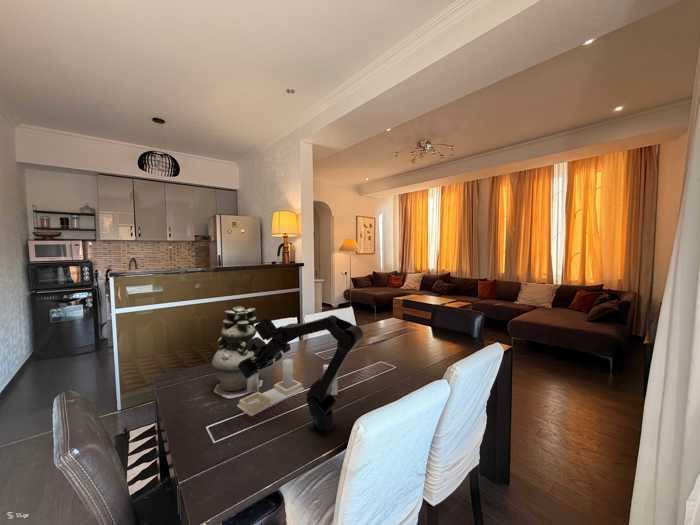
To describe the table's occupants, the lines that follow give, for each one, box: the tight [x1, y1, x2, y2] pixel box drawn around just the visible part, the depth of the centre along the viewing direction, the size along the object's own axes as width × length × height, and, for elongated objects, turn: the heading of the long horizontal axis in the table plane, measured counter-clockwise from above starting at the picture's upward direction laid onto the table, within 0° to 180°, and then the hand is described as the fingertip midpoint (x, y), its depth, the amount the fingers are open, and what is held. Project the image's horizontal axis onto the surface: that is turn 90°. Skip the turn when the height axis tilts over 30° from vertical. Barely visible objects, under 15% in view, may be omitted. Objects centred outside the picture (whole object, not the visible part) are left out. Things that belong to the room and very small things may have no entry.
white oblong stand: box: [236, 358, 305, 417], centre depth 116 cm, size 10×25×13 cm, turn 140°
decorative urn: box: [211, 306, 264, 399], centre depth 125 cm, size 21×21×35 cm
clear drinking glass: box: [247, 356, 260, 394], centre depth 109 cm, size 4×4×12 cm
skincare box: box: [322, 363, 339, 396], centre depth 120 cm, size 6×4×12 cm
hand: (250, 372), depth 109 cm, fingers closed on clear drinking glass, 4 cm apart
